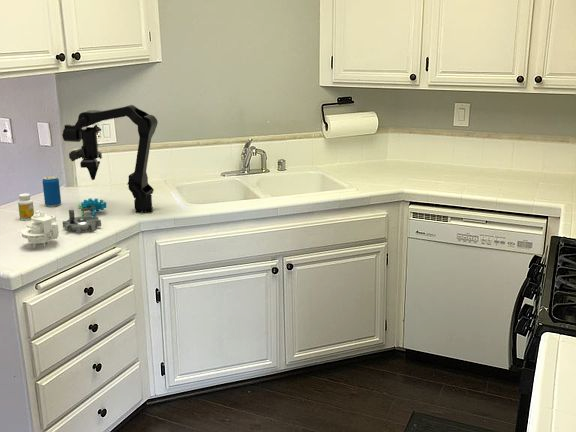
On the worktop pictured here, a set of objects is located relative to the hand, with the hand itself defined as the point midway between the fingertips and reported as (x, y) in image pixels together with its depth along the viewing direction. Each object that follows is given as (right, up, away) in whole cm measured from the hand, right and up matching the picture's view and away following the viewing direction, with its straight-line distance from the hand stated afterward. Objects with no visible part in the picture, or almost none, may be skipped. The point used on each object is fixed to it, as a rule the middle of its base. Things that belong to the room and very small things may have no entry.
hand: (93, 179), depth 266 cm
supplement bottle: (-23, -16, -11) cm, 30 cm away
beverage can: (-19, -10, +7) cm, 23 cm away
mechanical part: (-6, -25, -39) cm, 47 cm away
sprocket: (+3, -20, -23) cm, 30 cm away
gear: (+2, -14, -5) cm, 15 cm away
